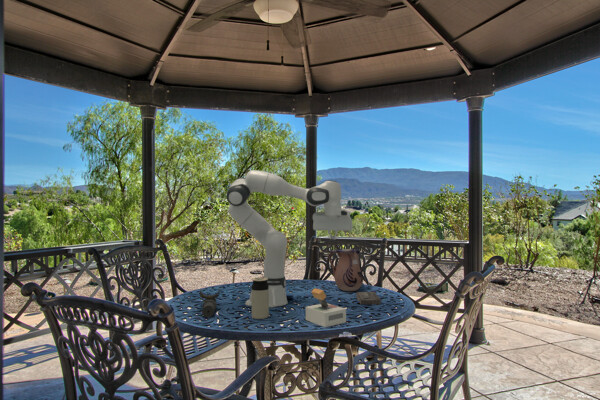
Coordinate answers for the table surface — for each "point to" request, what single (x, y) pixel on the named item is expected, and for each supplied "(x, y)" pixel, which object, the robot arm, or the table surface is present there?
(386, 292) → the table surface
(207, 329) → the table surface
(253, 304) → the travel mug
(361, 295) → the box
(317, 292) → the lever
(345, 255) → the ceramic pitcher
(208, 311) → the laser sight
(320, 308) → the block
